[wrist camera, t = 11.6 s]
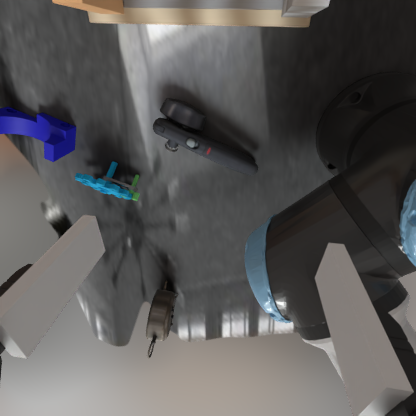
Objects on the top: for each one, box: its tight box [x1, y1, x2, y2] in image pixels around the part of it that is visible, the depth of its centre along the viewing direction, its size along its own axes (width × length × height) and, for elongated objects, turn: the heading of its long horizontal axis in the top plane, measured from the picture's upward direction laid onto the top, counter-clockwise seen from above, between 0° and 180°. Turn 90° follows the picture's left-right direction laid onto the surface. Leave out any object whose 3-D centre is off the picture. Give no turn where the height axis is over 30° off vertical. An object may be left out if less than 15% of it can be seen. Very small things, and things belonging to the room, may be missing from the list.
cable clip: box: [0, 107, 76, 162], centre depth 41 cm, size 12×4×6 cm, turn 69°
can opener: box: [153, 98, 258, 175], centre depth 38 cm, size 18×7×6 cm, turn 62°
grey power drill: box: [146, 281, 178, 358], centre depth 57 cm, size 11×5×16 cm, turn 173°
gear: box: [75, 161, 139, 201], centre depth 44 cm, size 11×6×10 cm
